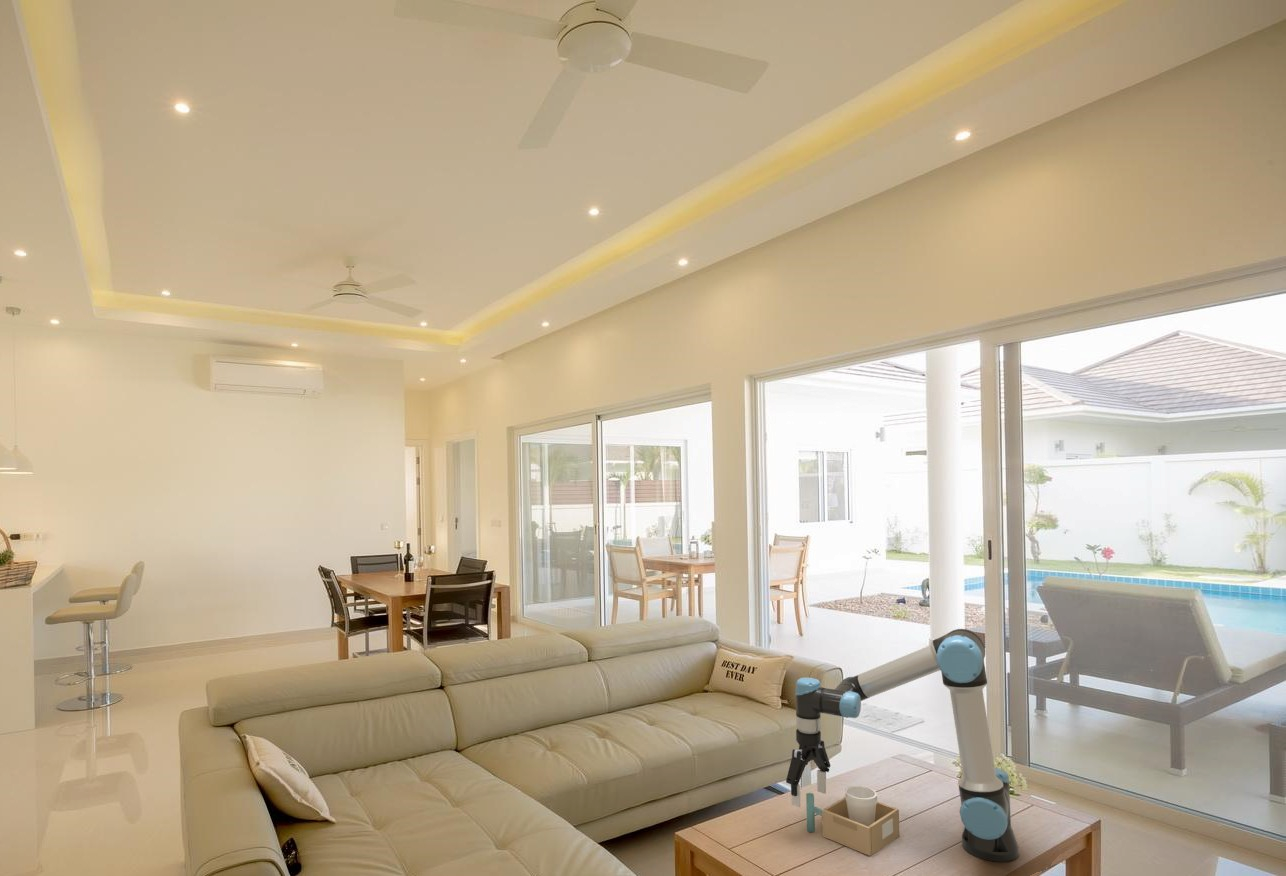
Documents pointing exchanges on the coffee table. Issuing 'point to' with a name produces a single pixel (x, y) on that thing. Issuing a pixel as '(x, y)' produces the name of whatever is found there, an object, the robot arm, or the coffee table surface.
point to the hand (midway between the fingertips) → (809, 798)
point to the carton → (875, 823)
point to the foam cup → (861, 804)
